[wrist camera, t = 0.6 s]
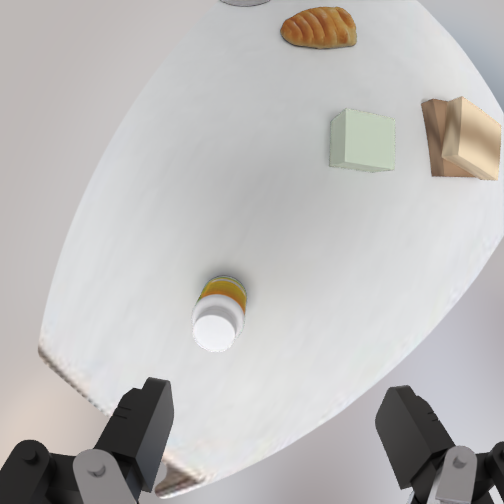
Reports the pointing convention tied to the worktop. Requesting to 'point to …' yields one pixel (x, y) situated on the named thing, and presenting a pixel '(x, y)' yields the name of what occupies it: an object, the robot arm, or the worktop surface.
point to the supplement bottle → (219, 314)
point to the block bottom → (439, 139)
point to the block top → (472, 139)
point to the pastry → (320, 28)
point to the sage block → (362, 141)
